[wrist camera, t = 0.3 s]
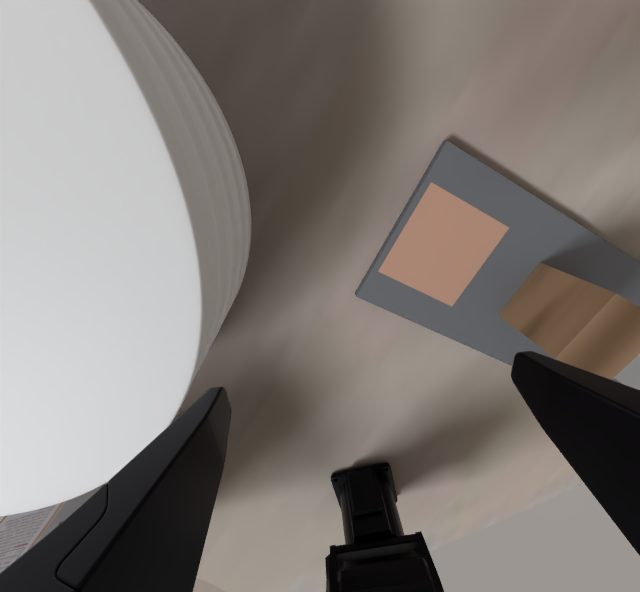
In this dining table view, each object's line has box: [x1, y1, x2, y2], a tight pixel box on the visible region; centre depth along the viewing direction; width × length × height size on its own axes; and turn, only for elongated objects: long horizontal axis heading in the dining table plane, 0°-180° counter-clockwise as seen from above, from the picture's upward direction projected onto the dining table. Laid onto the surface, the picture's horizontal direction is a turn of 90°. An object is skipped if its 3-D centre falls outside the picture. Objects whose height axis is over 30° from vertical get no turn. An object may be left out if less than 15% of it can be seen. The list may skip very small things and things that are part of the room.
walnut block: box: [498, 263, 640, 380], centre depth 21 cm, size 5×5×6 cm
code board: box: [355, 141, 640, 384], centre depth 24 cm, size 28×12×1 cm, turn 64°
